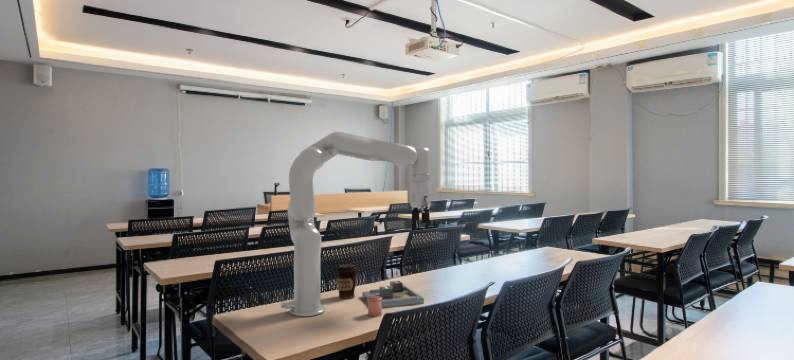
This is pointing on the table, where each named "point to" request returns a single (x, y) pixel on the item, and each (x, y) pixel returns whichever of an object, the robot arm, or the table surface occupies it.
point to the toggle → (386, 292)
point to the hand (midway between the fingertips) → (420, 221)
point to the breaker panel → (397, 296)
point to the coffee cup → (346, 280)
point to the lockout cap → (374, 306)
